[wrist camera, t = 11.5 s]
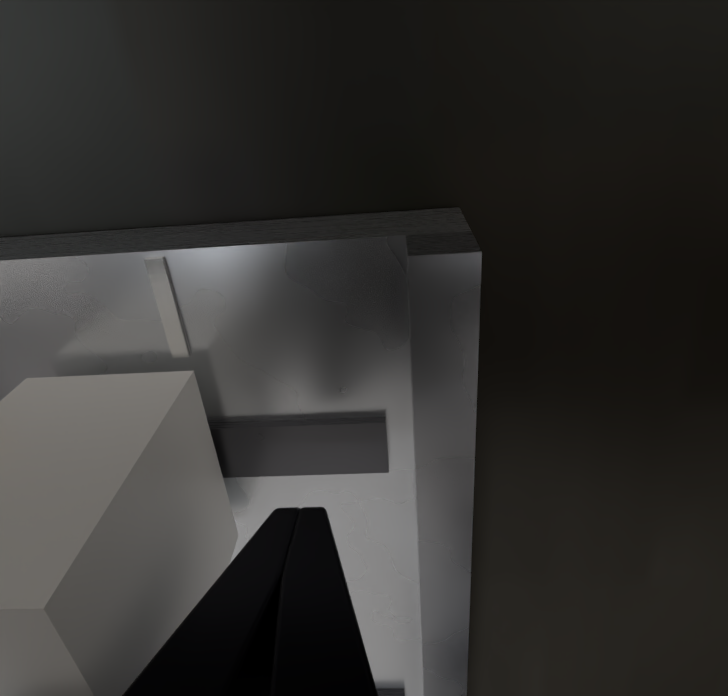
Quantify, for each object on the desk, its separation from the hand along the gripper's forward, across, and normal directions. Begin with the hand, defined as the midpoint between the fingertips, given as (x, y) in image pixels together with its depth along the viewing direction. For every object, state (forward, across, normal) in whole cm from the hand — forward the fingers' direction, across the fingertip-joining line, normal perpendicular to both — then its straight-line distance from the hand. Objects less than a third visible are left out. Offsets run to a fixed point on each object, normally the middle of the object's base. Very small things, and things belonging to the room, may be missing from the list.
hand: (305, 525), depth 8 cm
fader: (+2, +3, 0) cm, 4 cm away
